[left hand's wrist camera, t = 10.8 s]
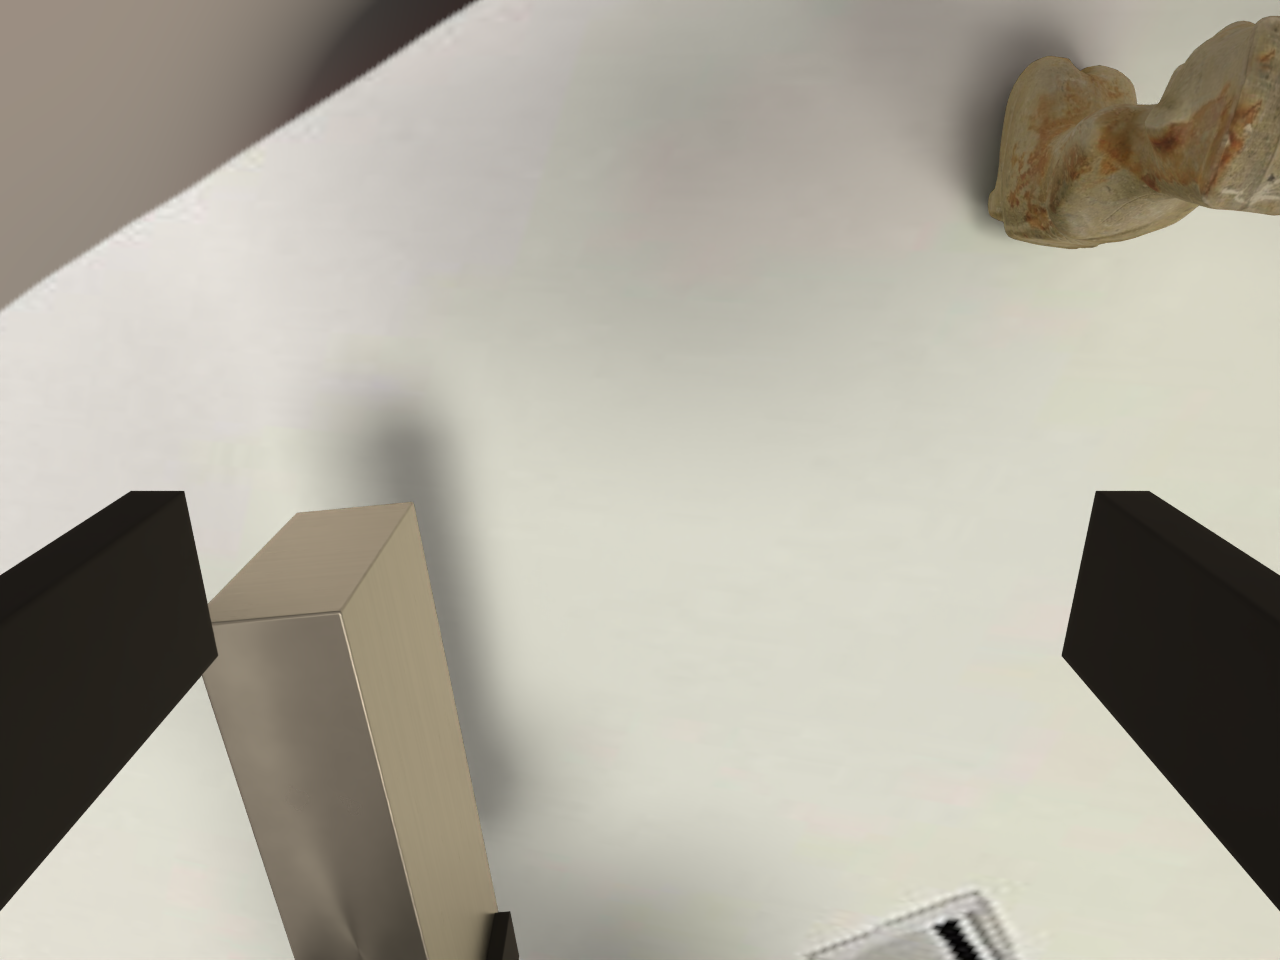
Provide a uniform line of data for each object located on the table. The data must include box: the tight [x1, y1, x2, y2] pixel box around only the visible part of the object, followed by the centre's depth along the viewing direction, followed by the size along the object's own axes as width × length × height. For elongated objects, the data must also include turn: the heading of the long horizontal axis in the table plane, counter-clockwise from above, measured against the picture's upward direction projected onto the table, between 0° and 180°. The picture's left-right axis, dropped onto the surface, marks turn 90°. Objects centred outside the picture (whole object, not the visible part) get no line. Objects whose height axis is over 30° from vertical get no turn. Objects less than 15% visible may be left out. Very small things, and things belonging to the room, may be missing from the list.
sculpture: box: [988, 16, 1280, 249], centre depth 30 cm, size 6×7×15 cm
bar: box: [202, 502, 498, 960], centre depth 32 cm, size 25×4×8 cm, turn 6°
